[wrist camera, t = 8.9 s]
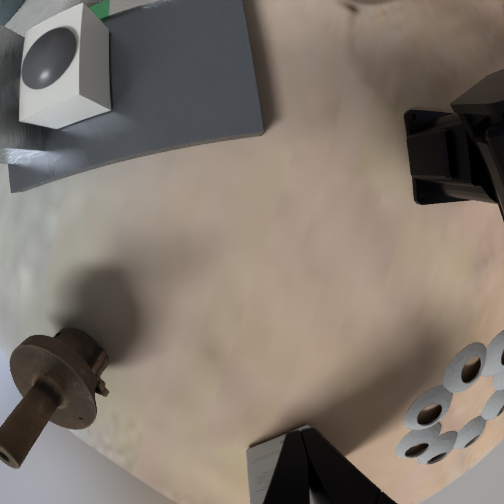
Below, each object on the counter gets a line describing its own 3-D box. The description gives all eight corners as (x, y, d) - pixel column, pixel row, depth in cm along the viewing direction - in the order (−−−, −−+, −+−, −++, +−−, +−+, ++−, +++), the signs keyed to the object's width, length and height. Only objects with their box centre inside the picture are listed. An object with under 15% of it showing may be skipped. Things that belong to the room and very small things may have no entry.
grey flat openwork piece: (375, 402, 23) (383, 416, 21) (522, 292, 21) (534, 298, 19) (405, 479, 27) (410, 489, 25) (516, 399, 26) (523, 406, 24)
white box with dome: (110, 3, 13) (85, -27, 9) (110, 110, 15) (77, 93, 11) (43, 32, 13) (12, 12, 9) (39, 136, 15) (-1, 130, 11)
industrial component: (40, 363, 20) (-32, 448, 9) (44, 295, 19) (-60, 374, 7) (133, 410, 22) (90, 523, 10) (151, 347, 20) (91, 479, 8)
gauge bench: (236, -17, 14) (236, -86, 7) (261, 135, 17) (277, 105, 10) (22, 52, 14) (-35, 25, 7) (23, 191, 17) (-49, 202, 10)
